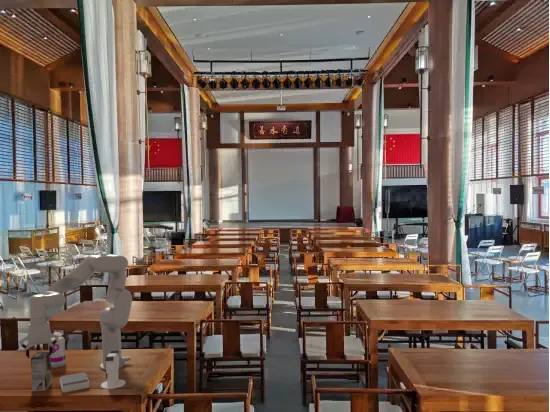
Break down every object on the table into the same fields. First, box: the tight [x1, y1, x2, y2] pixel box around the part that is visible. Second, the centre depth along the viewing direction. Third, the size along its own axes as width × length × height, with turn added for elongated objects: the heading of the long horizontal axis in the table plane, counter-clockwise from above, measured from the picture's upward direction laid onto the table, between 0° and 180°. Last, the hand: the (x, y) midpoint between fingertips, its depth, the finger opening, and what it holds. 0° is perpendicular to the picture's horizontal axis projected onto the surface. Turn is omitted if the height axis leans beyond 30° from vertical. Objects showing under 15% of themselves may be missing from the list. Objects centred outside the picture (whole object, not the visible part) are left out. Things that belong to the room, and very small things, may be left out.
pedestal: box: [59, 371, 90, 393], centre depth 244 cm, size 12×12×4 cm
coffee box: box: [30, 351, 53, 392], centre depth 243 cm, size 9×6×16 cm
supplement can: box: [47, 335, 67, 369], centre depth 275 cm, size 8×8×15 cm
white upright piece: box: [100, 351, 126, 390], centre depth 245 cm, size 12×11×15 cm
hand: (39, 355), depth 242 cm, fingers open, 9 cm apart
